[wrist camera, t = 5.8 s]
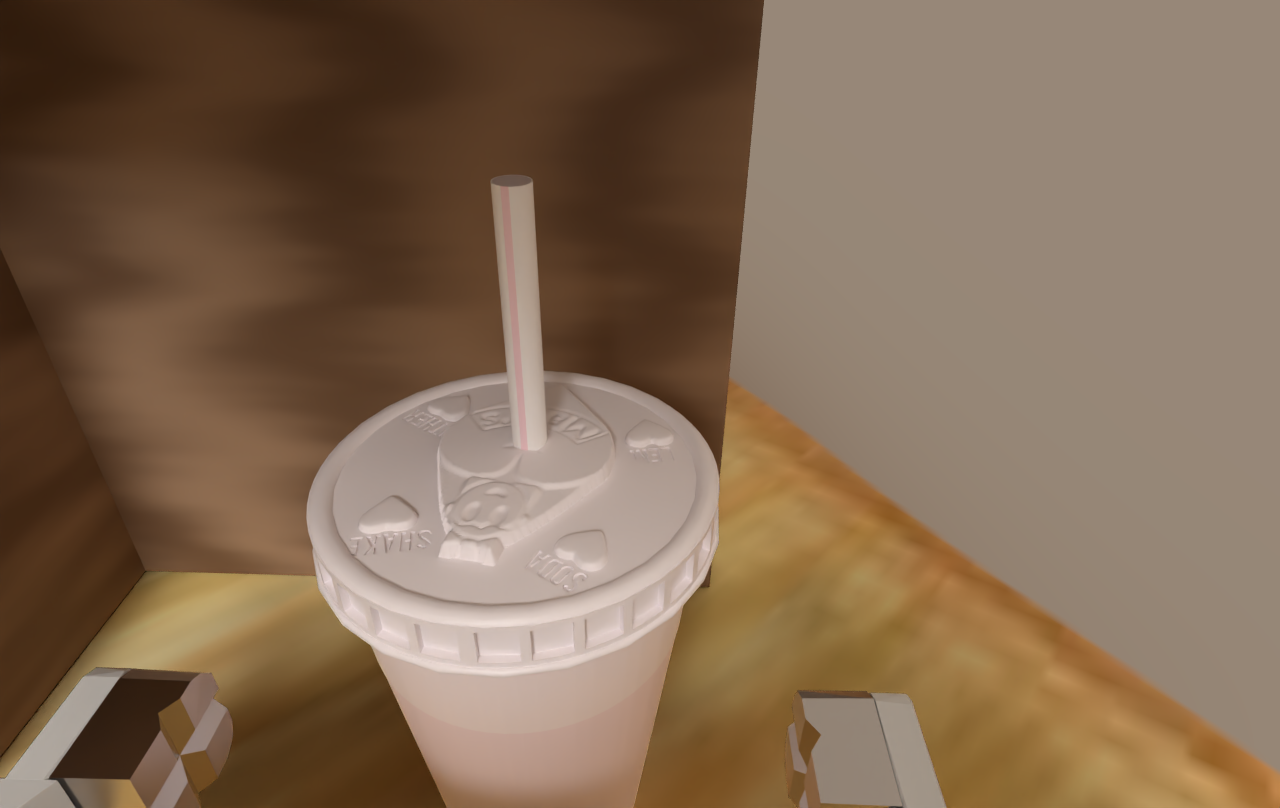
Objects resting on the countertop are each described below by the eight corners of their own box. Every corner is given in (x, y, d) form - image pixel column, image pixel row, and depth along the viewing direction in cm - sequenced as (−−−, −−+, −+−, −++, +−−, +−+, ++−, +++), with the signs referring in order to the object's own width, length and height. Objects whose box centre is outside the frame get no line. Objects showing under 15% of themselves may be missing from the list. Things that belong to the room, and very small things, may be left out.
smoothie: (709, 717, 19) (769, 148, 12) (661, 1020, 14) (716, 336, 7) (469, 670, 20) (384, 120, 13) (340, 934, 15) (69, 262, 8)
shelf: (-209, 943, 15) (-2106, -595, 4) (129, 542, 24) (-231, -251, 14) (738, 973, 15) (1034, -544, 4) (707, 558, 24) (776, -231, 14)
